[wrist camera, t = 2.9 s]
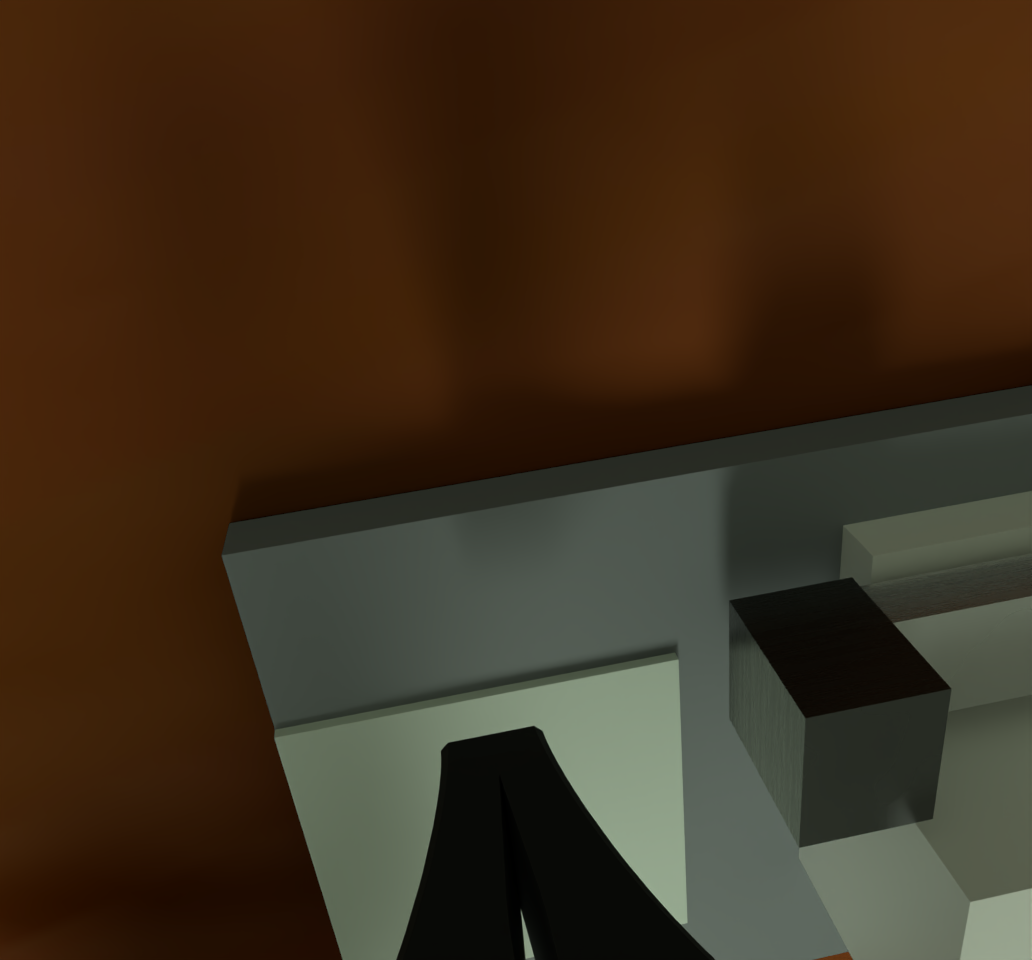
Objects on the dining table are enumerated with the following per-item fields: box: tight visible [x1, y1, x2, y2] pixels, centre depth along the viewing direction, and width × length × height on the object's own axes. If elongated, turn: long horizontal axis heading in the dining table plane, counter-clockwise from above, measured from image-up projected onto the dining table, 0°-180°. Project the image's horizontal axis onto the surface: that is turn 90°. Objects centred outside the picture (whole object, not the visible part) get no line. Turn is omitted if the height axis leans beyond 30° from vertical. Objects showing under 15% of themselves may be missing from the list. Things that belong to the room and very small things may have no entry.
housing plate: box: [222, 385, 1032, 960], centre depth 18 cm, size 13×21×2 cm, turn 96°
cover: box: [799, 491, 1032, 960], centre depth 15 cm, size 8×5×5 cm, turn 6°
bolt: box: [729, 553, 1032, 848], centre depth 14 cm, size 2×8×3 cm, turn 96°
